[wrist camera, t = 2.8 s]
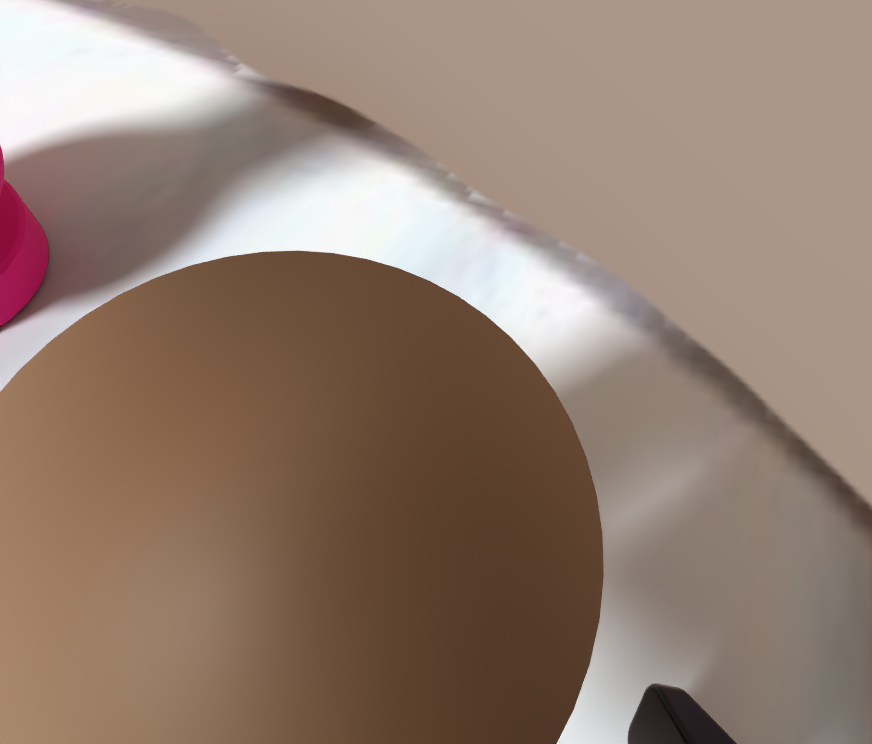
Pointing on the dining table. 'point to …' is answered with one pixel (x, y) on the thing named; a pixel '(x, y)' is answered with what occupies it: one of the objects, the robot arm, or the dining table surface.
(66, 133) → the dining table surface
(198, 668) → the walnut dowel
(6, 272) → the pepper mill
